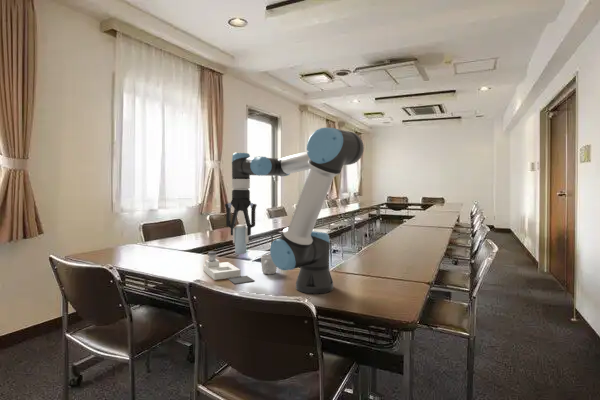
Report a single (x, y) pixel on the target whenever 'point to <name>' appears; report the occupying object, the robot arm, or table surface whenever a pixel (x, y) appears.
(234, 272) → the housing
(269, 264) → the cup
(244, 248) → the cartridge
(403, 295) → the table surface
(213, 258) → the plunger
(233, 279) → the pad
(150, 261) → the table surface
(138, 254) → the table surface
